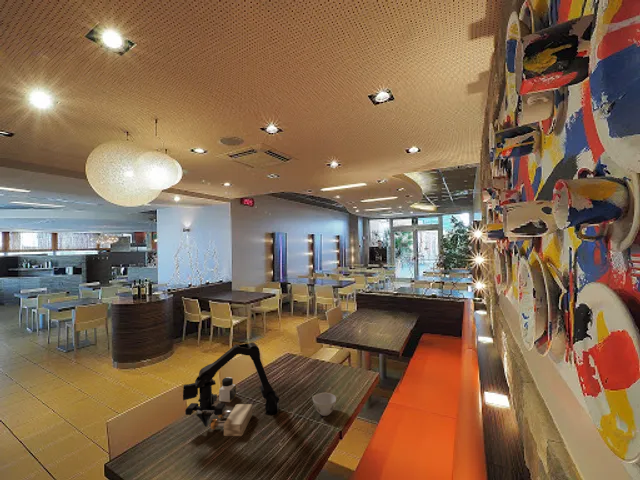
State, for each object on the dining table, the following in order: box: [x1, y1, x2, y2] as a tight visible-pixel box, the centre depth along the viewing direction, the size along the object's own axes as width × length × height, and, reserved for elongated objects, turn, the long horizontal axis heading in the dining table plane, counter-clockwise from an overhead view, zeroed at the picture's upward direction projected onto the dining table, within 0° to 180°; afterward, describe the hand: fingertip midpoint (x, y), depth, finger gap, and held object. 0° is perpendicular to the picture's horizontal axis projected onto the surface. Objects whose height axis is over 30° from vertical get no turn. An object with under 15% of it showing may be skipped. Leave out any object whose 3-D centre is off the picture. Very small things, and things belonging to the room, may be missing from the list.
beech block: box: [223, 403, 253, 437], centre depth 144 cm, size 9×17×6 cm, turn 177°
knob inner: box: [217, 409, 233, 419], centre depth 149 cm, size 10×4×4 cm, turn 87°
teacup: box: [311, 392, 337, 417], centre depth 153 cm, size 15×12×8 cm
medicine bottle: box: [218, 376, 237, 403], centre depth 169 cm, size 7×7×12 cm
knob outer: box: [209, 418, 226, 431], centre depth 140 cm, size 10×4×4 cm, turn 87°
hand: (206, 426), depth 140 cm, fingers closed
